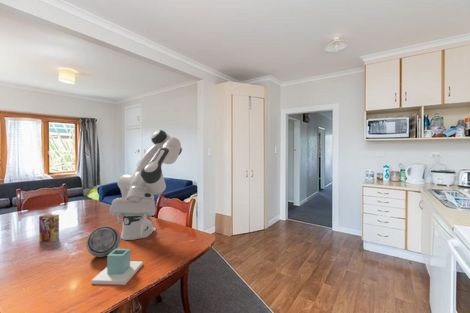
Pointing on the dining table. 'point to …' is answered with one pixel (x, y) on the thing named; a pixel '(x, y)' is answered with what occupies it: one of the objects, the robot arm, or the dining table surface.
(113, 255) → the teal square hollow box
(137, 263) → the board
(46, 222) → the candy box
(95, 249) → the decorative orb
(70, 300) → the dining table surface
